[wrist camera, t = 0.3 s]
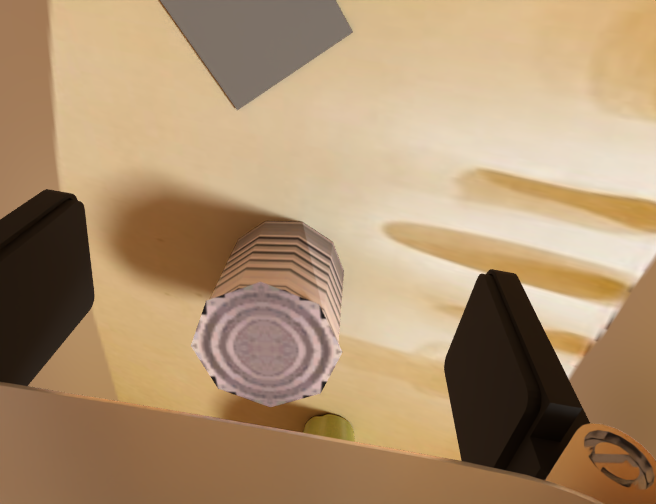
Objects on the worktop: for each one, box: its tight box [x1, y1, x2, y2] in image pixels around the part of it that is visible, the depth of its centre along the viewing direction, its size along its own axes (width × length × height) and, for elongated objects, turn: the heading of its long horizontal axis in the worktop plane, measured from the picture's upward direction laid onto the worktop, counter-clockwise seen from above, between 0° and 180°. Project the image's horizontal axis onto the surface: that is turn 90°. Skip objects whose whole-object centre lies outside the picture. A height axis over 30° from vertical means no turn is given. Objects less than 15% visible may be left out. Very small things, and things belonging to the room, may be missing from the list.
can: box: [191, 221, 344, 407], centre depth 42 cm, size 11×11×12 cm
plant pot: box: [303, 414, 355, 442], centre depth 55 cm, size 9×9×9 cm
